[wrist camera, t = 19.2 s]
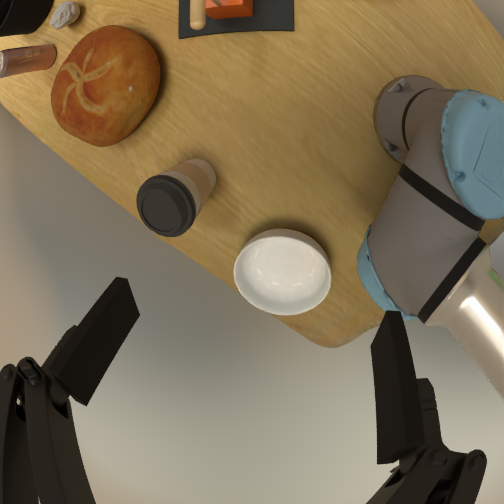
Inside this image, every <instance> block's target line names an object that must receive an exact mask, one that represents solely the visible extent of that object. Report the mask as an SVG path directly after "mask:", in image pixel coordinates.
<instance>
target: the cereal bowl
mask: <svg viewBox="0 0 504 504" xmlns="http://www.w3.org/2000/svg"><path fill="white" fill-rule="evenodd" d="M234 279H235V283H236V285H237V288H238V289H239V291H240V293H241V294H242V295H243V296H244V298H245V299H246V300H248V301H249V302H250V303H251V304H252V305H254V306H256V307H257V308H259V309H261V310H263V311H266V312H269V313H272V314H278V315H295V314H300V313H304V312H307V311H309V310H311V309H313V308H314V307H316V306H317V305H319V304H320V303H321V302H322V301H323V300H324V298H325V297H326V296H327V294H328V292H329V290H330V286H331V279H332V277H331V268H330V263H329V261H328V258H327V255H326V254H325V252H324V250H323V249H322V248H321V246H320V245H319V244H318V243H317V242H316V241H315V240H313V239H312V238H311V237H309V236H307V235H306V234H303V233H301V232H298V231H295V230H290V229H272V230H268V231H264V232H262V233H260V234H258V235H256V236H254V237H253V238H252V239H250V240H249V241H248V242H247V243H246V244H245V245H244V247H243V248H242V249H241V251H240V252H239V254H238V256H237V258H236V261H235V264H234Z"/></svg>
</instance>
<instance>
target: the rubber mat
mask: <svg viewBox="0 0 504 504" xmlns="http://www.w3.org/2000/svg"><path fill="white" fill-rule="evenodd" d="M246 31H294V1H293V0H253V16H250V17H235V18H224V19H215V20H214V19H213V18H211V17H210V16H208V15H206V24H205V26H204V27H203V28H202V29H200V30H194V29H192V28H191V26H190V0H179V39H182V38H188V37H195V36H202V35H210V34H219V33H231V32H246Z"/></svg>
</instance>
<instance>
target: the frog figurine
mask: <svg viewBox="0 0 504 504" xmlns="http://www.w3.org/2000/svg"><path fill="white" fill-rule="evenodd" d="M79 14H80V8H79V6H78V5H76V4H75V3H74V2H72V1H68V2H62V3H61V4H60V5H58V6H57V8H56V9H55V11H54V13H53V15H52V16H51V21H50V22H49V24H50V25H53V27H54V28H55V29H60V28H63V27H64V26H66V25H68V24H71V23H73V22H74V21H75V20H76V19H77V18H78V17H79Z"/></svg>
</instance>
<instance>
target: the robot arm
mask: <svg viewBox="0 0 504 504" xmlns="http://www.w3.org/2000/svg"><path fill="white" fill-rule="evenodd" d="M374 126H375V130H376V133H377V136H378V138H379V140H380V142H381V144H382V146H383V147H384V148H385V150H386V151H387V152H388V153H389V154H390V155H391V156H392V157H393V158H394V159H395V160H397V161H398V162H400V163H401V164H403V165H402V167H401V169H400V171H399V173H398V175H397V177H396V179H395V181H394V183H393V185H392V187H391V189H390V191H389V193H388V195H387V197H386V199H385V200H384V202H383V204H382V206H381V208H380V210H379V212H378V214H377V215H376V217H375V219H374V221H373V223H372V224H371V225H370V226H369V227H368V229H367V232H366V237H365V239H364V241H363V243H362V245H361V247H360V249H359V251H358V255H357V270H358V274H359V277H360V280H361V282H362V284H363V286H364V288H365V289H366V291H367V293H368V294H369V295H370V297H371V298H372V299H373V301H374V302H375V303H376V304H377V305H378V306H379V307H380V308H381V309H383V310H384V311H385V312H386V313H385V315H384V318H383V320H382V322H381V324H380V327H379V329H378V331H377V334H376V336H375V338H374V340H373V342H372V344H371V355H372V365H373V375H374V386H375V401H376V421H377V464H388V463H394V462H396V461H397V460H399V466H397V467H395V468H393V469H392V470H391V471H390V472H391V473H392V472H393V473H392V475H391V476H390V477H389V478H388V480H387V481H386V482H385V483H384V484H383V486H382V487H381V488H380V489H379V490H378V491H377V492H376V494H375V495H374V496H373V497H372V498H371V499H370V500H369V501H368V502H367V503H366V504H474V503H475V501H476V498H477V495H478V492H479V489H480V486H481V483H482V480H483V476H484V473H485V469H486V464H487V458H486V455H485V454H484V452H483V451H481V450H473V451H471V452H469V453H468V454H467V453H459V452H454V451H450V450H449V449H448V448H447V447H446V446H445V445H444V444H443V442H442V438H441V431H440V423H439V417H438V410H437V404H436V401H435V393H434V388H433V386H432V385H431V383H430V381H429V380H428V378H421V379H416V374H415V369H414V364H413V359H412V354H411V350H410V345H409V341H408V337H407V333H406V329H405V325H404V321H409V320H413V319H416V318H419V319H420V320H421V321H422V322H423V323H424V325H425V326H442V327H445V328H446V329H447V330H448V331H449V332H450V334H451V335H452V336H453V337H454V338H455V339H456V340H457V342H458V343H459V344H460V345H461V346H462V348H463V349H464V350H465V351H466V352H467V353H468V355H469V356H470V357H471V358H472V360H473V361H474V362H475V363H476V365H477V366H478V367H479V368H480V370H481V371H482V372H483V373H484V375H485V376H486V377H487V379H488V380H489V381H490V383H491V384H492V385H493V387H494V388H495V389H496V391H497V392H498V393H499V395H500V396H501V398H502V399H503V400H504V280H503V279H502V278H501V277H500V276H499V275H498V273H497V272H496V271H495V270H494V269H493V268H492V266H491V260H490V250H489V246H488V245H487V244H486V243H485V242H484V241H483V240H482V239H481V238H480V237H479V236H478V233H479V231H480V230H481V228H482V227H483V225H484V223H485V221H486V220H487V219H491V220H492V219H500V218H502V217H504V103H503V102H501V101H500V100H498V99H496V98H494V97H492V96H489V95H485V94H482V93H480V92H478V91H474V90H470V89H468V90H457V89H445V88H444V87H442V86H441V85H440V84H438V83H437V82H435V81H433V80H431V79H429V78H426V77H422V76H415V75H411V76H403V77H399V78H396V79H394V80H393V81H391V82H389V83H388V84H387V85H386V86H385V87H384V88H383V89H382V91H381V92H380V94H379V96H378V98H377V100H376V103H375V107H374ZM139 316H140V314H139V311H138V308H137V306H136V303H135V300H134V297H133V294H132V291H131V288H130V286H129V282H128V279H126V278H121V277H116V278H115V279H114V280H113V282H112V283H111V284H110V285H109V286H108V288H107V289H106V290H105V291H104V293H103V294H102V295H101V296H100V298H99V299H98V300H97V301H96V303H95V304H94V305H93V307H92V308H91V309H90V311H89V312H88V313H87V314H86V316H85V317H84V318H83V320H82V321H81V322H80V324H79V325H78V326H76V325H74V326H73V327H71V328H70V329H69V330H67V331H66V333H65V334H64V335H63V337H62V339H61V340H60V341H59V342H58V344H57V346H55V348H54V349H53V351H52V352H51V354H50V355H49V356H48V358H47V359H46V361H45V363H44V364H43V365H42V366H41V367H40V366H39V365H38V364H37V363H36V361H35V360H34V359H33V358H32V357H25V358H23V359H21V360H20V361H19V363H18V364H17V366H16V367H15V366H14V365H13V364H7V365H6V366H4V367H3V368H2V370H1V372H0V504H39V502H38V501H39V500H40V503H41V504H96V502H95V500H94V497H93V494H92V491H91V488H90V485H89V482H88V479H87V476H86V472H85V469H84V465H83V462H82V458H81V454H80V450H79V446H78V442H77V437H76V432H75V427H74V422H73V416H72V410H71V404H70V401H69V399H68V397H69V396H70V395H71V396H72V397H73V399H75V401H77V402H79V403H81V404H83V405H85V406H87V405H88V403H89V401H90V399H91V397H92V395H93V394H94V392H95V390H96V388H97V386H98V385H99V383H100V381H101V379H102V378H103V376H104V374H105V372H106V370H107V369H108V367H109V365H110V364H111V362H112V360H113V359H114V357H115V355H116V353H117V352H118V350H119V348H120V347H121V345H122V343H123V342H124V340H125V338H126V337H127V335H128V333H129V332H130V330H131V328H132V327H133V325H134V324H135V322H136V321H137V319H138V317H139ZM403 320H404V321H403ZM17 398H18V399H19V400H20V404H19V405H18V404H17ZM38 496H39V500H38Z"/></svg>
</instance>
